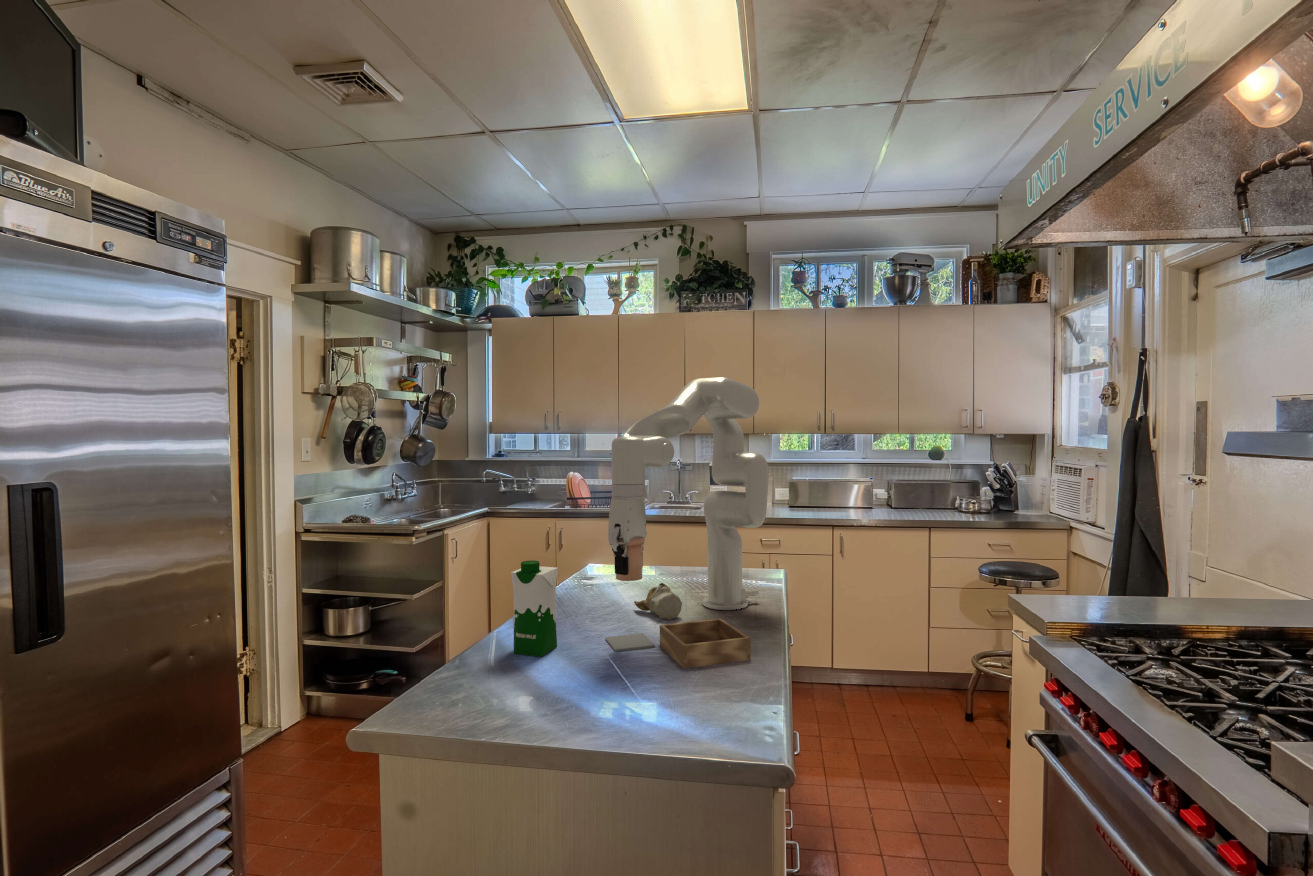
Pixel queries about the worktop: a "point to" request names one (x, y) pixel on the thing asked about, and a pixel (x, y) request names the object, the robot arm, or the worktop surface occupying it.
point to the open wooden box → (704, 643)
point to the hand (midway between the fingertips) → (628, 570)
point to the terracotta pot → (633, 560)
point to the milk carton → (534, 609)
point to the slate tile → (629, 642)
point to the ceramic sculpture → (661, 602)
